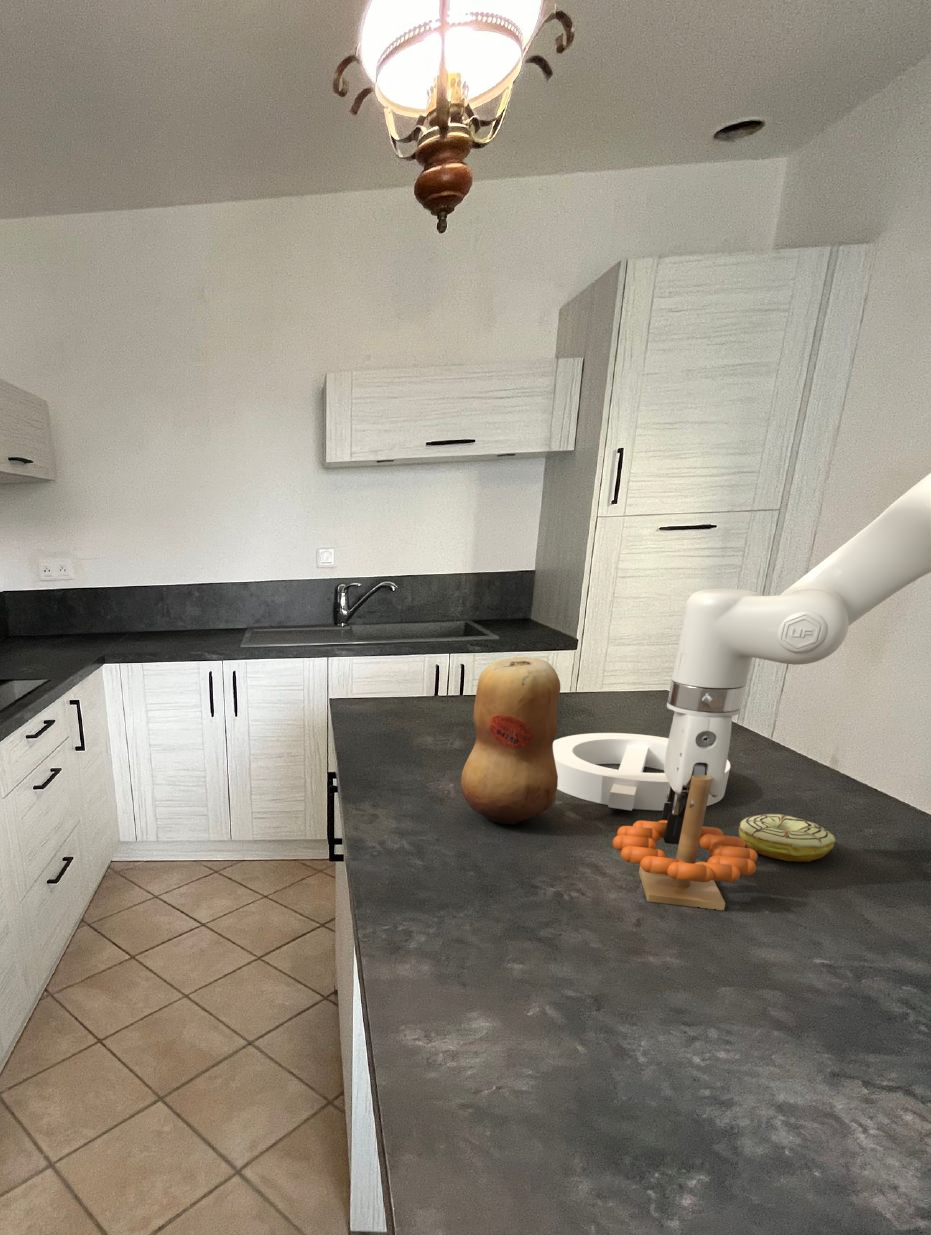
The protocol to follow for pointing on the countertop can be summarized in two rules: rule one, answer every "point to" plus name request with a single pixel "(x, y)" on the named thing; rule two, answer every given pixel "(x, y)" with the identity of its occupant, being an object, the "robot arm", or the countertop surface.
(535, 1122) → the countertop surface
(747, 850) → the ring
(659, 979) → the countertop surface
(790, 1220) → the countertop surface
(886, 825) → the countertop surface
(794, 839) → the decorated donut
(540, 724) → the butternut squash
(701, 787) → the post
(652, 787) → the white circle with bar
